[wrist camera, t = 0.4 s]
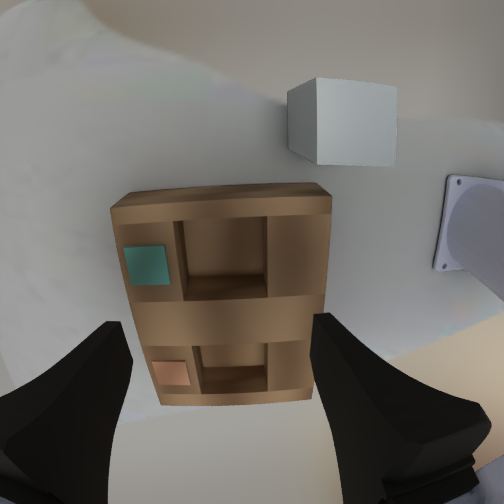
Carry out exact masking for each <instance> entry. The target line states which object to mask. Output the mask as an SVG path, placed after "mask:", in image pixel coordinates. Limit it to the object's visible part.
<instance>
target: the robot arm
mask: <svg viewBox="0 0 504 504" xmlns="http://www.w3.org/2000/svg"><path fill="white" fill-rule="evenodd" d="M457 180H459V182H458V184H457ZM443 264H444V266H443ZM442 266H443V267H442ZM433 268H434V270H436V271H437V272H443V271H452V270H462V269H466V270H468V271H469V272H470V273H471V274H472V275H474V276H475V277H476V278H477V279H478V280H480V281H481V282H482V283H483V284H484V285H485V286H487V287H488V288H489V289H490V290H491V291H492V292H493V293H495V294H496V295H497V296H498V297H499V298H500V299H501V300H502V301H504V181H502V180H495V179H488V178H480V177H471V176H462V175H450V176H449V177H448V180H447V188H446V196H445V204H444V211H443V217H442V224H441V230H440V235H439V241H438V246H437V251H436V256H435V261H434V265H433ZM309 356H310V361H311V366H312V371H313V376H314V380H315V383H316V386H317V389H318V392H319V394H320V398H321V401H322V404H323V407H324V409H325V412H326V416H327V418H328V421H329V424H330V428H331V431H332V436H333V441H334V446H335V451H336V456H337V462H338V468H339V473H340V480H341V488H342V495H343V504H504V455H502V456H500V457H499V458H497V459H495V460H494V461H492V462H490V463H488V464H486V465H485V466H483V467H481V468H480V469H479V470H477V471H476V472H474V469H473V467H472V466H473V465H474V464H475V459H474V457H473V455H472V453H473V452H474V451H475V450H476V449H477V448H478V446H479V445H480V444H481V443H482V442H483V441H484V439H485V438H486V437H487V435H488V434H489V432H490V429H491V426H492V425H491V421H490V420H489V418H488V416H487V415H486V414H485V412H484V410H483V409H482V407H481V406H480V404H479V403H477V402H473V401H469V400H465V399H462V398H459V397H455V396H452V395H449V394H447V393H444V392H442V391H439V390H437V389H434V388H432V387H430V386H428V385H425V384H423V383H421V382H419V381H417V380H416V379H414V378H412V377H410V376H408V375H406V374H405V373H403V372H401V371H400V370H398V369H396V368H395V367H393V366H392V365H390V364H389V363H387V362H386V361H385V360H383V359H382V358H380V357H379V356H378V355H377V354H375V353H374V352H373V351H371V350H370V349H369V348H368V347H366V346H365V345H364V344H363V343H362V342H361V341H359V340H358V339H357V338H356V337H355V336H354V335H353V334H352V333H351V332H350V331H348V330H347V329H346V328H345V327H344V326H343V325H342V324H341V323H340V322H339V321H338V320H337V319H336V318H335V317H334V316H333V315H332V314H331V313H319V314H313V325H312V335H311V345H310V355H309ZM132 366H133V359H132V356H131V353H130V350H129V347H128V344H127V341H126V338H125V335H124V331H123V328H122V325H121V322H120V321H106V322H105V323H103V324H102V325H101V326H100V327H98V328H97V329H96V330H95V331H94V332H93V333H91V334H90V335H89V336H88V337H87V338H86V339H85V340H84V341H82V342H81V343H80V344H79V345H78V346H77V347H76V348H74V349H73V350H72V351H71V352H70V353H69V354H67V355H66V356H65V357H64V358H62V359H61V360H60V361H59V362H57V363H56V364H55V365H54V366H52V367H51V368H50V369H48V370H47V371H46V372H44V373H43V374H41V375H40V376H38V377H37V378H35V379H34V380H32V381H30V382H29V383H27V384H25V385H23V386H21V387H20V388H18V389H16V390H14V391H12V392H10V393H8V394H6V395H4V396H2V397H0V504H108V476H109V466H110V456H111V448H112V443H113V437H114V432H115V428H116V425H117V422H118V418H119V415H120V412H121V409H122V405H123V402H124V399H125V396H126V393H127V390H128V386H129V383H130V378H131V372H132Z"/></svg>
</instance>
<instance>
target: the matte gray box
mask: <svg viewBox="0 0 504 504" xmlns="http://www.w3.org/2000/svg"><path fill="white" fill-rule="evenodd" d="M287 109H288V149H290V150H291V151H293V152H295V153H297V154H299V155H301V156H302V157H304V158H306V159H308V160H309V161H311V162H313V163H315V164H317V165H356V166H380V167H395V161H396V139H397V87H396V86H390V85H383V84H377V83H370V82H362V81H353V80H344V79H332V78H319V77H316V78H314V79H312V80H310V81H308V82H306V83H304V84H302V85H300V86H298V87H296V88H294V89H292V90H290V91H288V92H287Z"/></svg>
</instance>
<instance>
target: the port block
mask: <svg viewBox="0 0 504 504" xmlns="http://www.w3.org/2000/svg"><path fill="white" fill-rule="evenodd" d="M110 212H111V219H112V224H113V230H114V236H115V241H116V246H117V251H118V256H119V261H120V265H121V270H122V275H123V279H124V283H125V287H126V292H127V296H128V300H129V304H130V308H131V311H132V315H133V319H134V323H135V326H136V330H137V333H138V337H139V340H140V343H141V347H142V350H143V353H144V357H145V360H146V363H147V366H148V369H149V372H150V375H151V378H152V381H153V384H154V387H155V390H156V393H157V395H158V398H159V401H160V404H161V405H171V406H225V405H226V406H227V405H250V404H265V403H277V402H289V401H298V400H307V399H311V398H312V392H313V386H314V376H313V371H312V366H311V361H310V356H309V355H310V345H311V335H312V325H313V314H319V313H323V310H324V301H325V291H326V280H327V269H328V257H329V244H330V229H331V212H332V196H331V195H330V194H329V193H328V192H327V191H325V190H324V189H323V188H322V187H320V186H319V185H318V184H317V183H283V184H250V185H228V186H210V187H194V188H180V189H167V190H155V191H144V192H134V193H128V194H127V195H126V196H124V197H123V198H122V199H121V200H119V201H118V202H117V203H116V204H114V205H113V206H112V207H111V208H110Z"/></svg>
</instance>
